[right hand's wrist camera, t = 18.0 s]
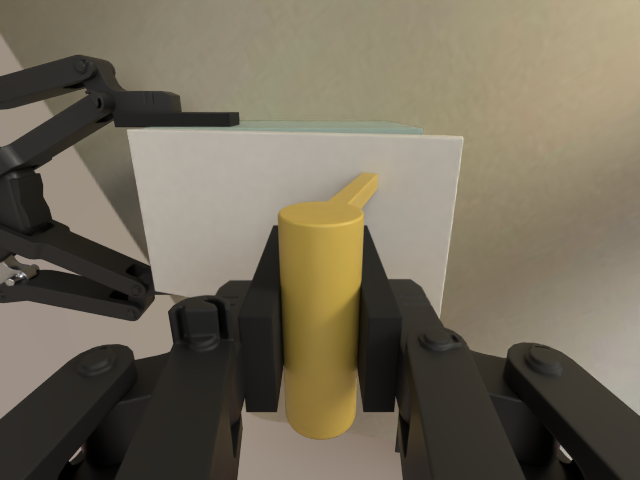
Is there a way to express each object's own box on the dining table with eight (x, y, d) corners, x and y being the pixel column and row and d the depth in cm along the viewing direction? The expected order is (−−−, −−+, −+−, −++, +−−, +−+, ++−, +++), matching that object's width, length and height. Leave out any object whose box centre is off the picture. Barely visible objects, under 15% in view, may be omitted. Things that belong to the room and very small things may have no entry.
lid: (462, 135, 15) (483, 172, 7) (436, 328, 18) (429, 510, 10) (143, 128, 19) (-72, 144, 11) (168, 282, 23) (14, 381, 15)
